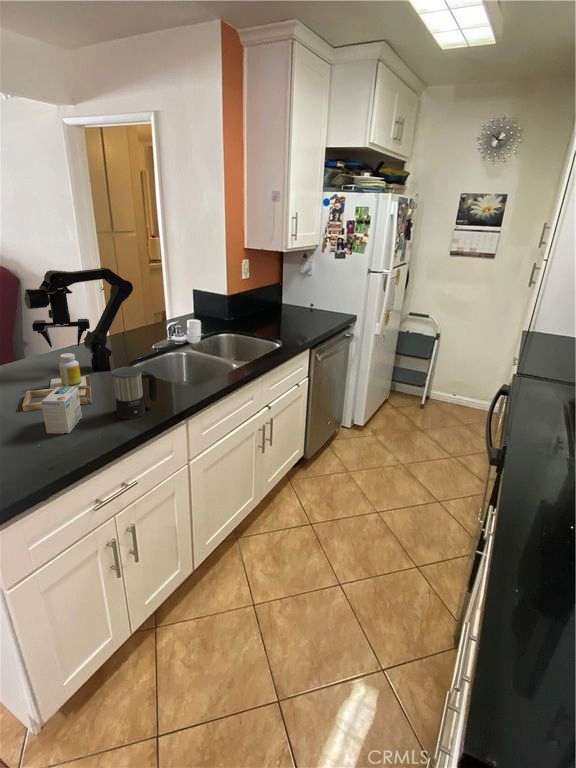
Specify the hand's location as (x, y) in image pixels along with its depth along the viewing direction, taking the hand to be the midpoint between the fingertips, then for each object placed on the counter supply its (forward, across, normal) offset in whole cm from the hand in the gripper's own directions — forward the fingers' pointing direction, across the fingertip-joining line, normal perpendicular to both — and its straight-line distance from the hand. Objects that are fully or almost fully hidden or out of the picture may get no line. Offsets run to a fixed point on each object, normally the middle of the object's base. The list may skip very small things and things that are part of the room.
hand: (65, 346), depth 157 cm
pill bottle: (+12, -1, +11) cm, 16 cm away
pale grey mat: (+12, 0, +10) cm, 16 cm away
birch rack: (+12, +2, +23) cm, 26 cm away
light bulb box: (+12, 0, +43) cm, 45 cm away
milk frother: (+12, -20, +36) cm, 43 cm away
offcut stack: (+12, -3, +23) cm, 26 cm away
